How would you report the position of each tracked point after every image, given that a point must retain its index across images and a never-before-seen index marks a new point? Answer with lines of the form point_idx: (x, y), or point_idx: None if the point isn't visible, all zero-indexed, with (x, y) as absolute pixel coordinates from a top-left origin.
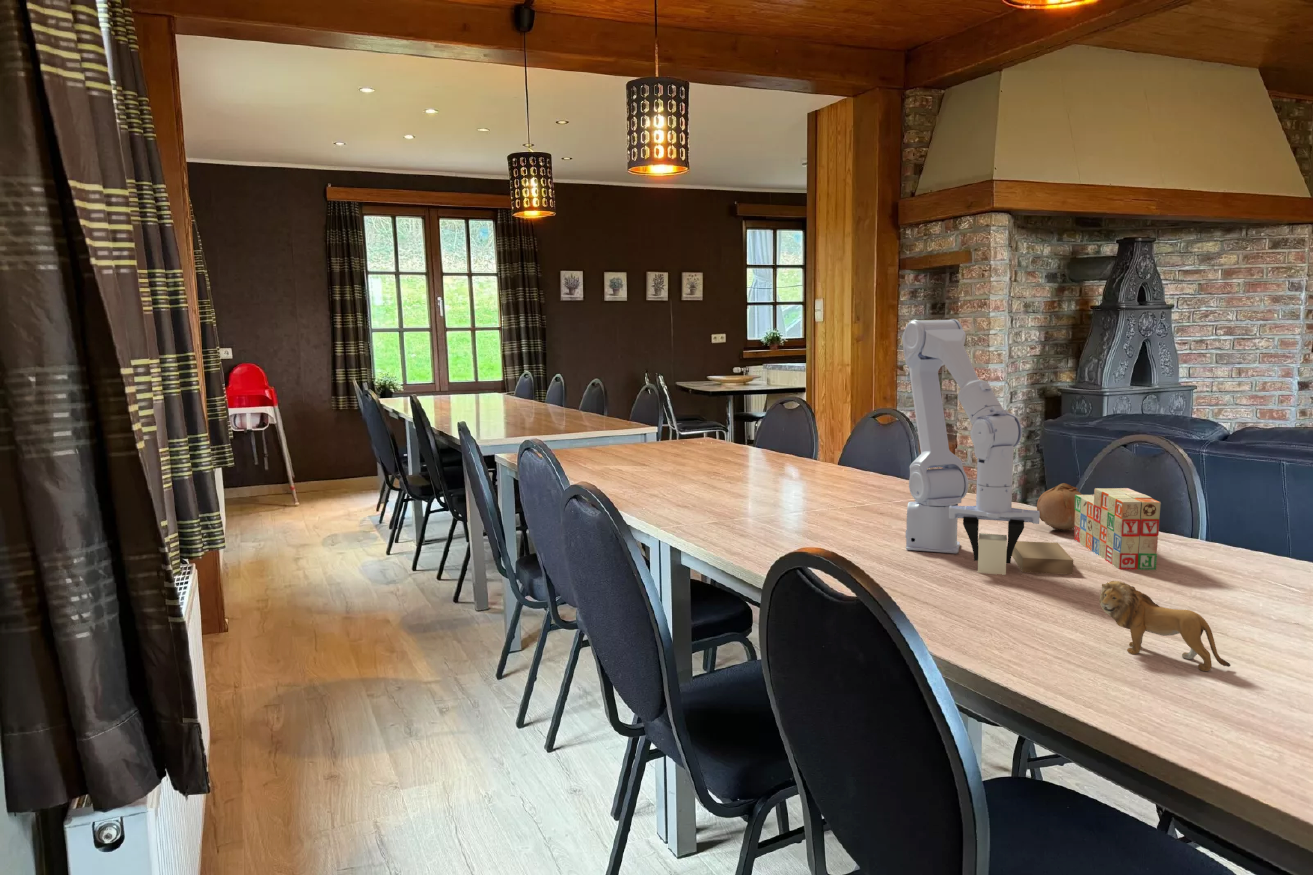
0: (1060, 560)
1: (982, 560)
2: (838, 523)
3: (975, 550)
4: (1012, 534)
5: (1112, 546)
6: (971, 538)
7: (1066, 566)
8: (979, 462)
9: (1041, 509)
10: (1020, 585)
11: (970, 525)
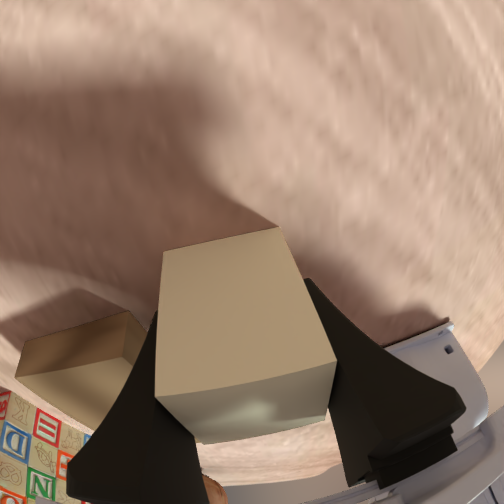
0: (35, 371)
1: (274, 268)
2: (482, 365)
3: (324, 309)
4: (124, 442)
5: (34, 440)
6: (375, 353)
7: (29, 358)
8: None
9: (216, 496)
10: (60, 135)
11: (434, 417)
